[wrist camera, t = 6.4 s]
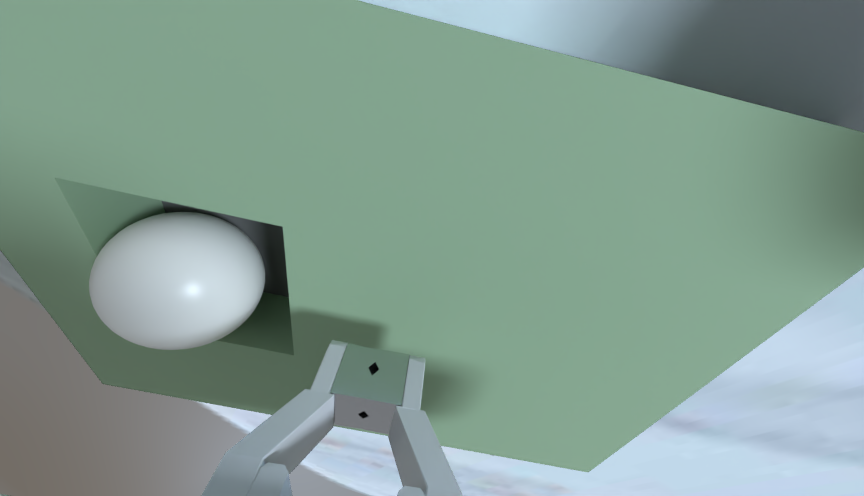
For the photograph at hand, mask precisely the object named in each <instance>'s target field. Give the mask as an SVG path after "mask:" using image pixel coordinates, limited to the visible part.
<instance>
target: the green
mask: <svg viewBox="0 0 864 496" xmlns="http://www.w3.org/2000/svg"><path fill="white" fill-rule="evenodd" d="M172 212H194V213H202V214H206V215H211V216H214V217H217V218H220V219H222V220H225V221H227V222H229V223H231V224H232V225H234V226H236V227H237V228H239V229H240V230H241V231H243V232H244V233H245V234H246V235H247V236H248V237H249V238H250V239H251V240H252V241H253V243H254V244H255V245H256V247H257V249H258V250H259V252H260V254H261V257H262V260H263V263H264V268H265V285H264V290H263V294H262V296H261V299H260V301H259V303H258V305H257V307H256V308H255V310H254V311H253V313H252V314H251V315H250V317H249V318H248V319H247V320H246V321H245V322H244V323H243V324H242V325H241V326H239V327H238V328H237V329H236V330H234V331H233V332H231V333H230V334H228V335H226V336H225V337H223V338H221V339H219V340H216V341H214V342H212V343H209V344H206V345H203V346H200V347H195V348H190V349H180V350H161V349H154V348H148V347H144V346H141V345H137V344H135V343H132V342H130V341H128V340H125V339H124V338H122V337H121V336H119V335H117V334H116V333H114V332H113V331H112V330H111V329H110V328H108V327H107V326H106V325H105V324H104V323H103V321H102V320H101V319H100V317H99V316H98V314H97V313H96V311H95V309H94V307H93V305H92V301H91V297H90V293H89V279H90V273H91V269H92V267H93V264H94V261H95V259H96V257H97V256H98V254H99V252H100V251H101V249H102V248H103V247H104V246H105V245H106V243H107V242H108V241H109V240H110V239H112V238H113V237H114V236H115V235H116V234H117V233H118V232H120V231H121V230H123V229H124V228H126V227H127V226H129V225H131V224H133V223H135V222H137V221H140V220H142V219H145V218H148V217H151V216H154V215H159V214H163V213H172ZM0 250H1V252H2V253H3V254H4V256H5V257H6V258H7V259H8V261H9V262H10V263H11V265H12V266H13V267H14V269H15V270H16V271H17V272H18V274H19V275H20V276H21V278H22V279H23V280H24V282H25V283H26V284H27V286H28V287H29V288H30V289H31V291H32V292H33V293H34V295H35V296H36V297H37V299H38V300H39V301H40V303H41V304H42V305H43V306H44V308H45V309H46V310H47V312H48V313H49V314H50V315H51V317H52V318H53V320H54V321H55V322H56V323H57V325H58V326H59V327H60V328H61V330H62V331H63V333H64V334H65V335H66V336H67V338H68V339H69V340H70V342H71V343H72V344H73V346H74V347H75V348H76V350H77V351H78V352H79V353H80V355H81V356H82V357H83V359H84V360H85V361H86V362H87V364H88V365H89V366H90V368H91V369H92V370H93V372H94V373H95V374H96V375H97V377H98V378H99V380H100V381H101V382H102V383H103V384H106V385H111V386H117V387H122V388H128V389H134V390H139V391H144V392H150V393H156V394H161V395H166V396H172V397H178V398H183V399H188V400H194V401H199V402H205V403H210V404H216V405H221V406H227V407H232V408H238V409H243V410H249V411H254V412H259V413H265V414H270V415H273V414H274V413H276V412H277V411H278V410H279V409H281V408H282V407H283V406H284V405H286V404H287V403H288V402H289V401H291V400H292V399H293V398H294V397H296V396H297V395H298V394H299V393H301V392H302V391H303V390H304V389H310V388H311V386H312V384H313V381H314V379H315V377H316V374H317V372H318V369H319V367H320V365H321V362H322V360H323V358H324V355H325V353H326V350H327V348H328V346H329V344H330V342H331V341H332V340H336V341H341V342H346V343H350V344H355V345H360V346H365V347H370V348H375V349H382V350H388V351H393V352H399V353H405V354H409V355H413V356H419V357H425V371H424V380H423V389H422V398H421V408H420V410H423V411H425V412H426V414H427V417H428V419H429V421H430V423H431V426H432V428H433V430H434V432H435V434H436V437H437V439H438V441H439V443H440V445H441V446H446V447H452V448H457V449H463V450H468V451H474V452H479V453H485V454H490V455H496V456H501V457H507V458H512V459H518V460H523V461H529V462H534V463H540V464H545V465H551V466H556V467H562V468H567V469H573V470H578V471H584V472H589V471H591V470H592V469H593V468H595V467H596V466H597V465H599V464H600V463H601V462H603V461H604V460H605V459H607V458H608V457H610V456H611V455H612V454H614V453H615V452H616V451H618V450H619V449H620V448H622V447H623V446H624V445H626V444H627V443H628V442H630V441H631V440H632V439H634V438H635V437H636V436H638V435H639V434H640V433H642V432H643V431H644V430H646V429H647V428H649V427H650V426H651V425H653V424H654V423H655V422H657V421H658V420H659V419H661V418H662V417H663V416H665V415H666V414H667V413H669V412H670V411H671V410H673V409H674V408H675V407H677V406H678V405H679V404H681V403H682V402H683V401H685V400H686V399H688V398H689V397H690V396H692V395H693V394H694V393H696V392H697V391H698V390H700V389H701V388H702V387H704V386H705V385H706V384H708V383H709V382H710V381H712V380H713V379H714V378H716V377H717V376H718V375H720V374H721V373H723V372H724V371H725V370H727V369H728V368H729V367H731V366H732V365H733V364H735V363H736V362H737V361H739V360H740V359H741V358H743V357H744V356H745V355H747V354H748V353H749V352H751V351H752V350H753V349H755V348H756V347H757V346H759V345H760V344H762V343H763V342H764V341H766V340H767V339H768V338H770V337H771V336H772V335H774V334H775V333H776V332H778V331H779V330H780V329H782V328H783V327H784V326H786V325H787V324H788V323H790V322H791V321H792V320H794V319H795V318H796V317H798V316H799V315H801V314H802V313H803V312H805V311H806V310H807V309H809V308H810V307H811V306H813V305H814V304H815V303H817V302H818V301H819V300H821V299H822V298H823V297H825V296H826V295H827V294H829V293H830V292H831V291H833V290H834V289H835V288H837V287H838V286H840V285H841V284H842V283H844V282H845V281H846V280H848V279H849V278H850V277H852V276H853V275H854V274H856V273H857V272H858V271H860V270H861V269H862V268H864V132H860V131H857V130H853V129H849V128H845V127H841V126H837V125H834V124H830V123H826V122H822V121H818V120H814V119H811V118H807V117H803V116H799V115H795V114H791V113H788V112H784V111H780V110H776V109H772V108H768V107H764V106H761V105H757V104H753V103H749V102H745V101H741V100H738V99H734V98H730V97H726V96H722V95H718V94H715V93H711V92H707V91H703V90H699V89H695V88H692V87H688V86H684V85H680V84H676V83H672V82H669V81H665V80H661V79H657V78H653V77H649V76H646V75H642V74H638V73H634V72H630V71H626V70H622V69H619V68H615V67H611V66H607V65H603V64H599V63H596V62H592V61H588V60H584V59H580V58H576V57H573V56H569V55H565V54H561V53H557V52H553V51H550V50H546V49H542V48H538V47H534V46H530V45H527V44H523V43H519V42H515V41H511V40H507V39H504V38H500V37H496V36H492V35H488V34H484V33H480V32H477V31H473V30H469V29H465V28H461V27H457V26H454V25H450V24H446V23H442V22H438V21H434V20H431V19H427V18H423V17H419V16H415V15H411V14H408V13H404V12H400V11H396V10H392V9H388V8H385V7H381V6H377V5H373V4H369V3H365V2H362V1H358V0H0ZM333 426H336V427H342V428H347V429H353V430H358V431H364V432H369V433H375V434H380V435H386V436H388V435H387V434H382V433H377V432H372V431H368V430H363V429H357V428H350V427H343V426H337V425H333Z"/></svg>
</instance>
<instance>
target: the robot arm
mask: <svg viewBox="0 0 864 496" xmlns="http://www.w3.org/2000/svg"><path fill="white" fill-rule="evenodd" d="M424 371H425V357H419V356H413V355H409V354H405V353H399V352H393V351H388V350H382V349H375V348H370V347H365V346H360V345H355V344H350V343H346V342H341V341H336V340H332V341H331V342H330V344H329V346H328V348H327V350H326V353H325V355H324V358H323V360H322V362H321V365H320V367H319V369H318V372H317V374H316V377H315V379H314V381H313V384H312V386H311V388H310V389H304V390H303V391H302V392H301V393H299V394H298V395H297V396H296V397H294V398H293V399H292V400H291V401H289V402H288V403H287V404H286V405H284V406H283V407H282V408H281V409H279V410H278V411H277V412H276V413H274V414H273V415H272V416H271V417H269V418H268V419H267V420H266V421H264V422H263V423H262V424H261V425H259V426H258V427H257V428H256V429H254V430H253V431H252V432H251V433H249V434H248V435H247V436H246V437H245V438H243V439H242V440H241V441H240V442H238V443H237V444H236V445H235V446H233V447H232V448H231V449H230V450H228V451H227V452H226V453H225V454H224V456H223V458H222V460H221V462H220V463H219V465H218V467H217V469H216V471H215V472H214V474H213V476H212V478H211V480H210V481H209V483H208V485H207V486H206V488H205V490H204V492H203V494H202V495H201V496H292V490H291V485H290V479H289V474H290V473H291V472H292V471H293V470H294V469H295V468H296V467H297V466H298V465H299V464H300V462H301V461H302V460H303V459H304V458H305V457H306V456H307V455H308V454H309V453H310V452H311V451H312V450H313V448H314V447H315V446H316V445H317V444H318V443H319V442H320V441H321V440H322V439H323V438H324V437H325V436H326V434H327V433H328V432H329V431H330V430H331V429H332V428H333V425H337V426H343V427H350V428H357V429H363V430H368V431H372V432H377V433H382V434H387V435H388V438H389V441H390V444H391V448H392V451H393V455H394V458H395V461H396V465H397V468H398V471H399V475H400V478H401V482H402V485H403V488H402V489H401V490H400V491H399V492H398V495H397V496H462V492H461V490H460V488H459V486H458V484H457V481H456V479H455V477H454V475H453V472H452V470H451V468H450V466H449V463H448V461H447V459H446V457H445V455H444V452H443V450H442V448H441V446H440V443H439V441H438V439H437V437H436V434H435V432H434V430H433V428H432V426H431V423H430V421H429V419H428V417H427V414H426V412H425V411H423V410H420V408H421V398H422V389H423V380H424ZM0 496H10V495H3V494H0Z"/></svg>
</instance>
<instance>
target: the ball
mask: <svg viewBox="0 0 864 496" xmlns="http://www.w3.org/2000/svg"><path fill="white" fill-rule="evenodd" d="M264 285H265V268H264V263H263V260H262V257H261V254H260V252H259V250H258V249H257V247H256V245H255V244H254V243H253V241H252V240H251V239H250V238H249V237H248V236H247V235H246V234H245V233H244V232H243V231H241V230H240V229H239V228H237V227H236V226H234V225H232V224H231V223H229V222H227V221H225V220H222V219H220V218H217V217H214V216H211V215H206V214H202V213H194V212H172V213H163V214H159V215H154V216H151V217H148V218H145V219H142V220H140V221H137V222H135V223H133V224H131V225H129V226H127V227H126V228H124V229H123V230H121V231H120V232H118V233H117V234H116V235H115V236H114V237H113V238H112V239H110V240H109V241H108V242H107V243H106V245H105V246H104V247H103V248H102V249H101V251H100V252H99V254H98V256H97V257H96V259H95V261H94V264H93V267H92V269H91V273H90V279H89V293H90V297H91V301H92V305H93V307H94V309H95V311H96V313H97V314H98V316H99V317H100V319H101V320H102V321H103V323H104V324H105V325H106V326H107V327H108V328H110V329H111V330H112V331H113V332H114V333H116V334H117V335H119V336H121V337H122V338H124V339H125V340H128V341H130V342H132V343H135V344H137V345H141V346H144V347H148V348H154V349H161V350H180V349H190V348H195V347H200V346H203V345H206V344H209V343H212V342H214V341H216V340H219V339H221V338H223V337H225V336H226V335H228V334H230V333H231V332H233V331H234V330H236V329H237V328H238V327H239V326H241V325H242V324H243V323H244V322H245V321H246V320H247V319H248V318H249V317H250V315H251V314H252V313H253V311H254V310H255V308H256V307H257V305H258V303H259V301H260V299H261V296H262V294H263V290H264Z"/></svg>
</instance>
